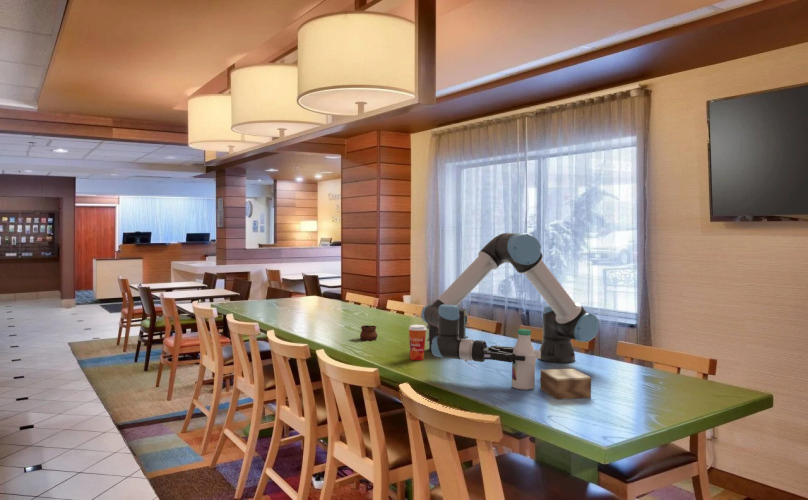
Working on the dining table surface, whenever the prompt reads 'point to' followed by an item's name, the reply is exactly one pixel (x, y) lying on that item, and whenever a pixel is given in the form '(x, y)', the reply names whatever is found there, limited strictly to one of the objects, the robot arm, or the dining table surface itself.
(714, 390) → the dining table surface
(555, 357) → the robot arm
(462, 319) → the router
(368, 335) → the ceramic pot
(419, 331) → the paper cup
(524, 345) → the milk bottle
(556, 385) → the block
